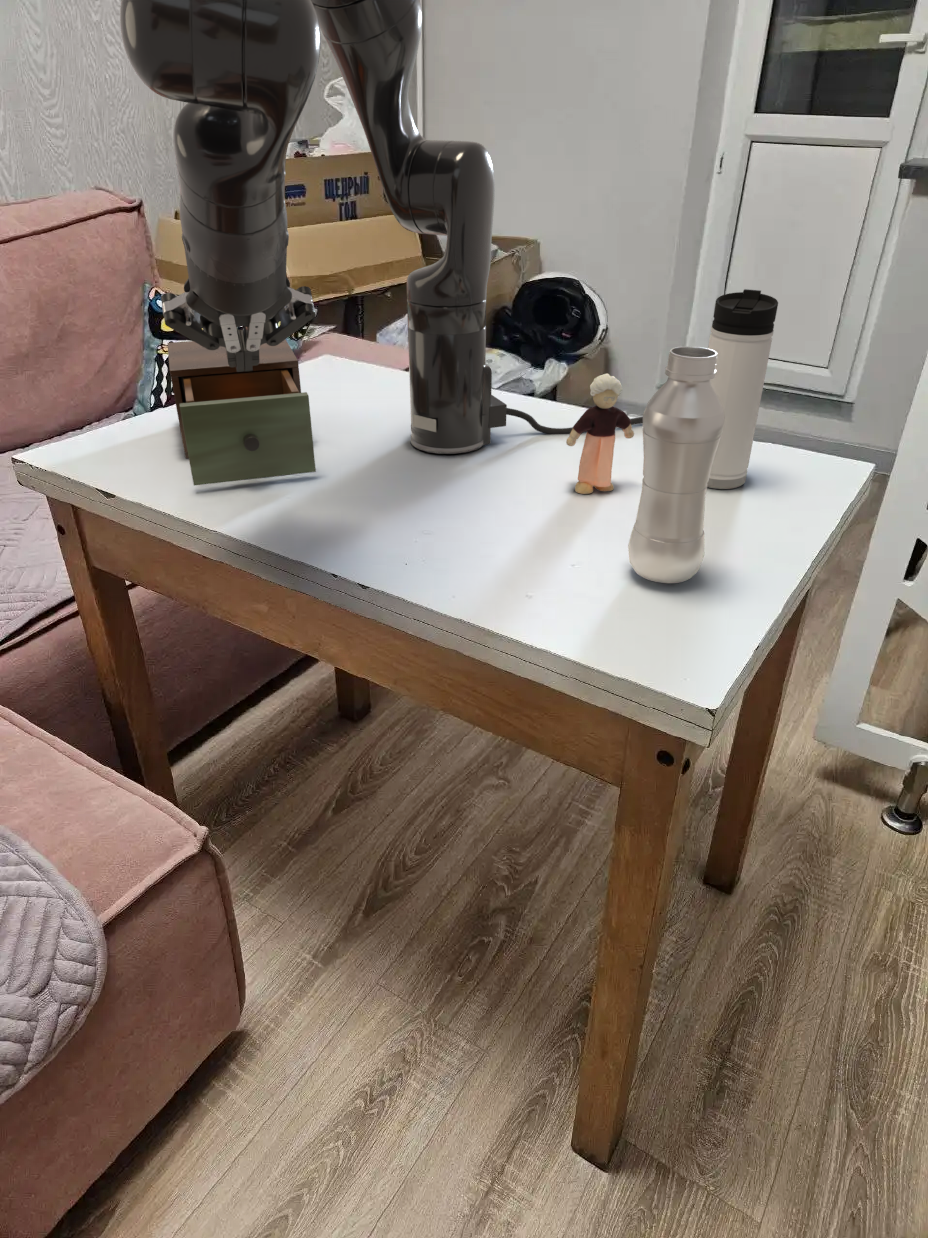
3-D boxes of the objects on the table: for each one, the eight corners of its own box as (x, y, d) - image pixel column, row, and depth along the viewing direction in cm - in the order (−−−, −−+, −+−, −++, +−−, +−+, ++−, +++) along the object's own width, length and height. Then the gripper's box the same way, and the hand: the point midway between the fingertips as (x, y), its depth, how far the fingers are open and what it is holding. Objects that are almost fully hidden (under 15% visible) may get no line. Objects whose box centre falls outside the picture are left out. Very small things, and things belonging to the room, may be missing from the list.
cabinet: (306, 446, 106) (298, 360, 100) (185, 458, 102) (169, 370, 96) (291, 413, 117) (282, 334, 111) (181, 423, 113) (167, 342, 107)
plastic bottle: (701, 596, 74) (741, 364, 63) (623, 588, 75) (649, 359, 64) (699, 562, 79) (735, 344, 69) (625, 555, 80) (650, 340, 70)
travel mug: (749, 473, 98) (784, 291, 88) (740, 493, 93) (775, 303, 82) (695, 464, 100) (723, 286, 90) (683, 484, 95) (710, 297, 85)
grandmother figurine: (578, 500, 91) (587, 383, 85) (559, 487, 94) (566, 373, 88) (635, 487, 94) (649, 373, 88) (615, 475, 97) (626, 364, 91)
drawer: (317, 475, 95) (310, 398, 90) (194, 489, 91) (180, 410, 87) (299, 436, 106) (292, 365, 101) (189, 447, 102) (176, 374, 98)
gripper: (316, 192, 65) (306, 323, 82) (135, 195, 62) (163, 332, 78) (332, 276, 64) (320, 393, 80) (148, 284, 60) (174, 405, 77)
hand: (242, 362), depth 79 cm, fingers closed
